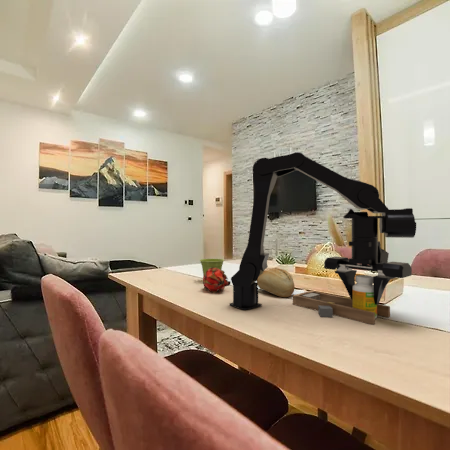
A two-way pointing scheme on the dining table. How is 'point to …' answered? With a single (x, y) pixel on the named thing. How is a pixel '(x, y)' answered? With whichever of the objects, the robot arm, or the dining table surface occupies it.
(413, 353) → the dining table surface
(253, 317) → the dining table surface
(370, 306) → the supplement bottle
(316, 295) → the steel counterweight
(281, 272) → the bread roll
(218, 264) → the plant pot
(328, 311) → the gray block
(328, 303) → the walnut beam
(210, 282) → the dragon fruit
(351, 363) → the dining table surface
